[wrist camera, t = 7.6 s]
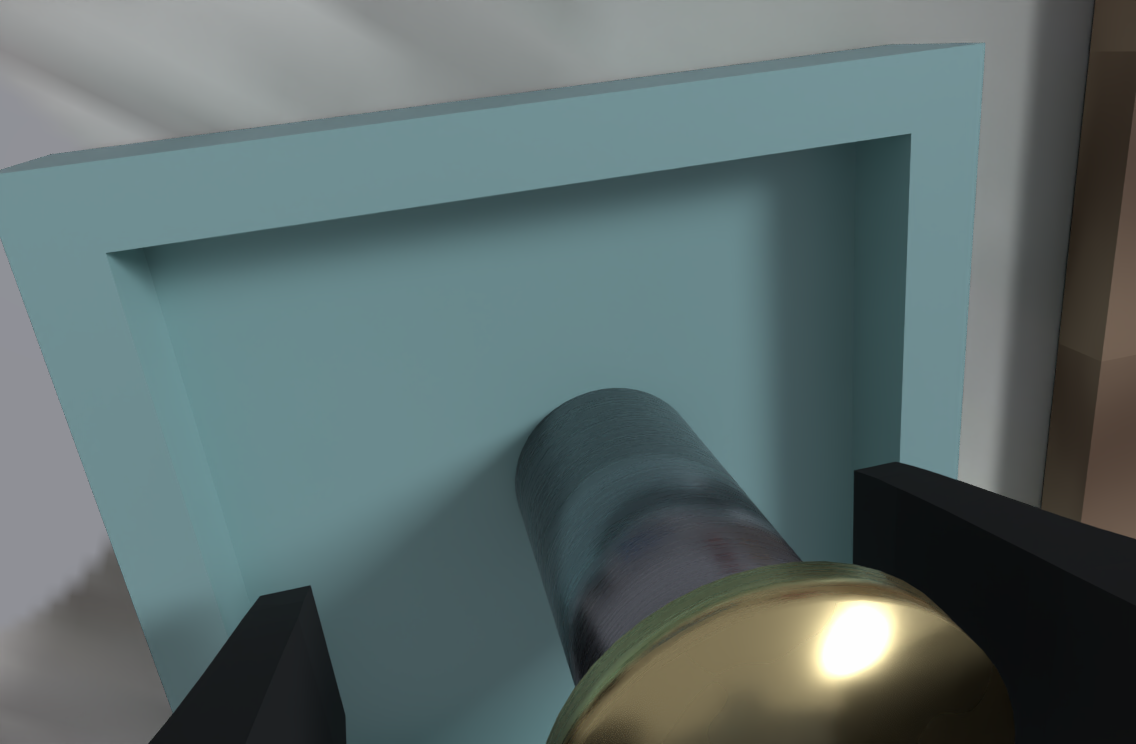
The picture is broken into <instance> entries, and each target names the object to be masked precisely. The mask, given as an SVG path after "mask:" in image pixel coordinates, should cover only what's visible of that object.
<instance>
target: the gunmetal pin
mask: <svg viewBox="0 0 1136 744" xmlns="http://www.w3.org/2000/svg"><path fill="white" fill-rule="evenodd" d="M515 491H516V497H517V502H518V506H519V509H520V512H521V515H522V518H523V522H524V525H525V528H526V531H527V534H528V538H529V541H530V544H531V547H532V551H533V554H534V557H535V560H536V563H537V567H538V570H539V573H540V576H541V579H542V583H543V586H544V589H545V592H546V595H547V599H548V602H549V605H550V608H551V612H552V615H553V618H554V621H555V624H556V628H557V631H558V634H559V637H560V640H561V644H562V647H563V650H564V653H565V657H566V660H567V663H568V666H569V669H570V673H571V676H572V679H573V682H574V685H575V688H574V689H573V691H572V693H571V694H570V696H569V698H568V699H567V701H566V703H565V704H564V706H563V707H562V709H561V711H560V712H559V714H558V716H557V718H556V721H555V723H554V725H553V727H552V730H551V732H550V734H549V736H548V739H547V741H546V744H1015V726H1014V716H1013V709H1012V706H1011V702H1010V698H1009V695H1008V691H1007V688H1006V686H1005V684H1004V682H1003V680H1002V678H1001V676H1000V674H999V672H998V670H997V668H996V667H995V666H994V664H993V663H992V662H991V660H990V659H989V658H988V656H987V655H986V654H985V653H984V651H983V650H982V649H981V648H980V647H979V646H978V645H977V644H976V643H975V642H974V641H973V640H972V639H971V638H970V637H969V636H968V635H967V634H966V633H965V632H964V631H963V630H962V629H961V628H960V627H959V626H958V625H957V624H956V623H955V622H954V621H953V620H952V619H951V618H950V617H949V616H948V615H947V614H946V613H945V612H943V611H942V610H941V609H940V608H939V607H938V606H937V605H936V604H935V603H934V602H933V601H932V600H930V599H929V598H928V597H927V596H926V595H925V594H924V593H922V592H921V591H919V590H917V589H916V588H914V587H913V586H911V585H910V584H908V583H906V582H905V581H903V580H901V579H898V578H896V577H894V576H891V575H889V574H886V573H884V572H882V571H879V570H875V569H871V568H867V567H863V566H859V565H855V564H848V563H838V562H829V561H806V562H803V561H802V560H801V559H800V558H799V556H798V555H797V554H796V553H795V552H794V550H793V549H792V548H791V547H790V546H789V544H788V543H787V542H786V541H785V540H784V538H783V537H782V536H781V535H780V534H779V532H778V531H777V530H776V529H775V528H774V527H773V525H772V524H771V523H770V522H769V521H768V519H767V518H766V517H765V516H764V515H763V513H762V512H761V511H760V510H759V509H758V507H757V506H756V505H755V504H754V503H753V501H752V500H751V499H750V498H749V497H748V495H747V494H746V493H745V492H744V491H743V489H742V488H741V487H740V486H739V485H738V483H737V482H736V481H735V480H734V479H733V478H732V476H731V475H730V474H729V473H728V472H727V470H726V469H725V468H724V467H723V466H722V464H721V463H720V462H719V461H718V460H717V458H716V457H715V456H714V455H713V454H712V452H711V451H710V450H709V449H708V448H707V446H706V445H705V444H704V443H703V442H702V440H701V439H700V438H699V437H698V436H697V434H696V433H695V432H694V431H693V430H692V428H691V427H690V426H689V425H688V424H687V423H686V421H685V420H684V419H683V418H682V417H681V415H680V414H679V413H678V412H677V411H676V410H675V409H674V408H673V407H672V406H670V405H669V404H668V403H666V402H665V401H663V400H662V399H660V398H658V397H656V396H654V395H651V394H649V393H646V392H643V391H639V390H634V389H628V388H608V389H600V390H595V391H591V392H587V393H585V394H582V395H579V396H576V397H574V398H572V399H570V400H568V401H566V402H565V403H563V404H562V405H560V406H559V407H557V408H556V409H554V410H553V411H552V412H551V413H549V414H548V415H547V416H546V417H545V418H544V419H543V420H542V421H541V422H540V423H539V424H538V425H537V426H536V428H535V429H534V430H533V432H532V433H531V435H530V436H529V437H528V439H527V441H526V443H525V445H524V447H523V449H522V451H521V454H520V457H519V460H518V464H517V468H516V476H515Z"/></svg>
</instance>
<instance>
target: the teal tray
mask: <svg viewBox="0 0 1136 744" xmlns="http://www.w3.org/2000/svg"><path fill="white" fill-rule="evenodd" d="M984 56H985V43H946V44H891V45H883V46H875V47H868V48H860V49H853V50H845V51H837V52H830V53H822V54H814V55H807V56H799V57H791V58H784V59H776V60H768V61H761V62H753V63H746V64H738V65H730V66H723V67H715V68H707V69H700V70H692V71H684V72H677V73H669V74H661V75H654V76H646V77H639V78H631V79H623V80H616V81H608V82H600V83H593V84H585V85H577V86H570V87H562V88H554V89H547V90H539V91H532V92H524V93H516V94H509V95H501V96H493V97H486V98H478V99H470V100H463V101H455V102H447V103H440V104H432V105H425V106H417V107H409V108H402V109H394V110H386V111H379V112H371V113H363V114H356V115H348V116H340V117H333V118H325V119H317V120H310V121H302V122H295V123H287V124H279V125H272V126H264V127H256V128H249V129H241V130H233V131H226V132H218V133H210V134H203V135H195V136H188V137H180V138H172V139H165V140H157V141H149V142H142V143H134V144H126V145H119V146H111V147H103V148H96V149H88V150H81V151H73V152H65V153H58V154H50V155H47V156H44V157H40V158H37V159H34V160H31V161H28V162H24V163H21V164H18V165H14V166H11V167H8V168H5V169H1V170H0V238H1V241H2V244H3V246H4V249H5V252H6V255H7V257H8V260H9V263H10V266H11V269H12V271H13V274H14V277H15V279H16V282H17V285H18V288H19V291H20V293H21V296H22V299H23V302H24V304H25V307H26V310H27V313H28V315H29V318H30V321H31V323H32V327H33V329H34V332H35V335H36V337H37V340H38V343H39V346H40V348H41V351H42V354H43V357H44V360H45V362H46V365H47V368H48V370H49V373H50V376H51V379H52V381H53V384H54V387H55V390H56V393H57V395H58V398H59V401H60V404H61V406H62V409H63V412H64V415H65V417H66V420H67V423H68V426H69V428H70V431H71V434H72V437H73V439H74V442H75V445H76V448H77V450H78V453H79V456H80V459H81V461H82V464H83V467H84V469H85V473H86V475H87V478H88V481H89V483H90V486H91V489H92V492H93V494H94V497H95V500H96V503H97V505H98V508H99V511H100V514H101V517H102V519H103V522H104V525H105V528H106V530H107V533H108V536H109V539H110V541H111V544H112V547H113V550H114V552H115V555H116V558H117V561H118V563H119V566H120V569H121V572H122V574H123V577H124V580H125V583H126V585H127V588H128V591H129V594H130V597H131V599H132V602H133V605H134V608H135V610H136V613H137V616H138V619H139V621H140V624H141V627H142V630H143V632H144V635H145V638H146V641H147V643H148V646H149V649H150V652H151V654H152V657H153V660H154V663H155V665H156V668H157V671H158V674H159V676H160V679H161V682H162V685H163V687H164V690H165V693H166V696H167V698H168V701H169V704H170V707H171V709H172V712H173V713H174V711H175V710H176V709H177V707H178V706H179V705H180V703H181V702H182V701H183V700H184V698H185V697H186V696H187V694H188V693H189V692H190V690H191V689H192V688H193V686H194V685H195V684H196V682H197V681H198V680H199V678H200V677H201V676H202V674H203V673H204V672H205V670H206V669H207V668H208V666H209V665H210V663H211V662H212V661H213V659H214V658H215V656H216V655H217V654H218V652H219V651H220V650H221V648H222V647H223V645H224V644H225V643H226V641H227V640H228V638H229V637H230V636H231V634H232V633H233V631H234V630H235V629H236V627H237V626H238V624H239V623H240V622H241V620H242V619H243V618H244V616H245V615H246V614H247V612H248V611H249V610H250V608H251V607H252V606H253V604H254V603H255V602H256V600H257V599H258V598H259V596H262V595H266V594H271V593H276V592H281V591H285V590H290V589H295V588H300V587H304V586H309V585H311V588H312V592H313V596H314V599H315V603H316V607H317V611H318V614H319V618H320V622H321V626H322V629H323V633H324V637H325V641H326V644H327V648H328V652H329V656H330V659H331V663H332V667H333V671H334V674H335V678H336V682H337V685H338V689H339V693H340V697H341V700H342V704H343V708H344V712H345V715H346V744H546V741H547V739H548V736H549V734H550V732H551V730H552V727H553V725H554V723H555V721H556V718H557V716H558V714H559V712H560V711H561V709H562V707H563V706H564V704H565V703H566V701H567V699H568V698H569V696H570V694H571V693H572V691H573V689H574V688H575V685H574V682H573V679H572V676H571V673H570V669H569V666H568V663H567V660H566V657H565V653H564V650H563V647H562V644H561V640H560V637H559V634H558V631H557V628H556V624H555V621H554V618H553V615H552V612H551V608H550V605H549V602H548V599H547V595H546V592H545V589H544V586H543V583H542V579H541V576H540V573H539V570H538V567H537V563H536V560H535V557H534V554H533V551H532V547H531V544H530V541H529V538H528V534H527V531H526V528H525V525H524V522H523V518H522V515H521V512H520V509H519V506H518V502H517V497H516V491H515V476H516V468H517V464H518V460H519V457H520V454H521V451H522V449H523V447H524V445H525V443H526V441H527V439H528V437H529V436H530V435H531V433H532V432H533V430H534V429H535V428H536V426H537V425H538V424H539V423H540V422H541V421H542V420H543V419H544V418H545V417H546V416H547V415H548V414H549V413H551V412H552V411H553V410H554V409H556V408H557V407H559V406H560V405H562V404H563V403H565V402H566V401H568V400H570V399H572V398H574V397H576V396H579V395H582V394H585V393H587V392H591V391H595V390H600V389H608V388H628V389H634V390H639V391H643V392H646V393H649V394H651V395H654V396H656V397H658V398H660V399H662V400H663V401H665V402H666V403H668V404H669V405H670V406H672V407H673V408H674V409H675V410H676V411H677V412H678V413H679V414H680V415H681V417H682V418H683V419H684V420H685V421H686V423H687V424H688V425H689V426H690V427H691V428H692V430H693V431H694V432H695V433H696V434H697V436H698V437H699V438H700V439H701V440H702V442H703V443H704V444H705V445H706V446H707V448H708V449H709V450H710V451H711V452H712V454H713V455H714V456H715V457H716V458H717V460H718V461H719V462H720V463H721V464H722V466H723V467H724V468H725V469H726V470H727V472H728V473H729V474H730V475H731V476H732V478H733V479H734V480H735V481H736V482H737V483H738V485H739V486H740V487H741V488H742V489H743V491H744V492H745V493H746V494H747V495H748V497H749V498H750V499H751V500H752V501H753V503H754V504H755V505H756V506H757V507H758V509H759V510H760V511H761V512H762V513H763V515H764V516H765V517H766V518H767V519H768V521H769V522H770V523H771V524H772V525H773V527H774V528H775V529H776V530H777V531H778V532H779V534H780V535H781V536H782V537H783V538H784V540H785V541H786V542H787V543H788V544H789V546H790V547H791V548H792V549H793V550H794V552H795V553H796V554H797V555H798V556H799V558H800V559H801V560H802V561H803V562H806V561H829V562H838V563H848V564H853V501H854V470H858V469H862V468H867V467H872V466H877V465H881V464H886V463H891V462H900V463H904V464H908V465H912V466H915V467H919V468H922V469H925V470H929V471H932V472H935V473H938V474H941V475H944V476H947V477H950V478H953V479H956V480H957V476H958V460H959V445H960V429H961V413H962V398H963V382H964V367H965V351H966V336H967V320H968V305H969V289H970V274H971V258H972V242H973V227H974V211H975V196H976V180H977V165H978V149H979V134H980V118H981V102H982V87H983V71H984Z"/></svg>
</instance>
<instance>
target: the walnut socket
mask: <svg viewBox="0 0 1136 744" xmlns="http://www.w3.org/2000/svg"><path fill="white" fill-rule="evenodd" d="M1041 509H1042V510H1045V511H1048V512H1051V513H1054V514H1057V515H1060V516H1063V517H1066V518H1069V519H1072V520H1075V521H1078V522H1082V523H1085V524H1088V525H1091V526H1094V527H1097V528H1100V529H1104V530H1107V531H1111V532H1114V533H1117V534H1121V535H1124V536H1127V537H1131V538H1134V539H1136V0H1095V9H1094V19H1093V28H1092V37H1091V47H1090V56H1089V65H1088V75H1087V84H1086V93H1085V103H1084V112H1083V121H1082V131H1081V140H1080V149H1079V159H1078V168H1077V177H1076V187H1075V196H1074V206H1073V215H1072V224H1071V234H1070V243H1069V252H1068V262H1067V271H1066V280H1065V290H1064V299H1063V308H1062V318H1061V327H1060V336H1059V346H1058V355H1057V364H1056V374H1055V383H1054V392H1053V402H1052V411H1051V420H1050V430H1049V439H1048V448H1047V458H1046V467H1045V476H1044V486H1043V495H1042V504H1041Z"/></svg>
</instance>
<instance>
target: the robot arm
mask: <svg viewBox="0 0 1136 744" xmlns="http://www.w3.org/2000/svg"><path fill="white" fill-rule="evenodd" d="M853 564H855V565H859V566H863V567H867V568H871V569H875V570H879V571H882V572H884V573H886V574H889V575H891V576H894V577H896V578H898V579H901V580H903V581H905V582H906V583H908V584H910V585H911V586H913V587H914V588H916V589H917V590H919V591H921V592H922V593H924V594H925V595H926V596H927V597H928V598H929V599H930V600H932V601H933V602H934V603H935V604H936V605H937V606H938V607H939V608H940V609H941V610H942V611H943V612H945V613H946V614H947V615H948V616H949V617H950V618H951V619H952V620H953V621H954V622H955V623H956V624H957V625H958V626H959V627H960V628H961V629H962V630H963V631H964V632H965V633H966V634H967V635H968V636H969V637H970V638H971V639H972V640H973V641H974V642H975V643H976V644H977V645H978V646H979V647H980V648H981V649H982V650H983V651H984V653H985V654H986V655H987V656H988V658H989V659H990V660H991V662H992V663H993V664H994V666H995V667H996V668H997V670H998V672H999V674H1000V676H1001V678H1002V680H1003V682H1004V684H1005V686H1006V688H1007V691H1008V695H1009V698H1010V702H1011V706H1012V709H1013V716H1014V726H1015V744H1136V539H1134V538H1131V537H1127V536H1124V535H1121V534H1117V533H1114V532H1111V531H1107V530H1104V529H1100V528H1097V527H1094V526H1091V525H1088V524H1085V523H1082V522H1078V521H1075V520H1072V519H1069V518H1066V517H1063V516H1060V515H1057V514H1054V513H1051V512H1048V511H1045V510H1042V509H1039V508H1036V507H1033V506H1031V505H1028V504H1025V503H1022V502H1019V501H1016V500H1013V499H1010V498H1007V497H1005V496H1002V495H999V494H996V493H993V492H990V491H987V490H985V489H982V488H979V487H976V486H973V485H970V484H967V483H965V482H962V481H959V480H956V479H953V478H950V477H947V476H944V475H941V474H938V473H935V472H932V471H929V470H925V469H922V468H919V467H915V466H912V465H908V464H904V463H900V462H891V463H886V464H881V465H877V466H872V467H867V468H862V469H858V470H854V501H853ZM149 744H346V715H345V712H344V708H343V704H342V700H341V697H340V693H339V689H338V685H337V682H336V678H335V674H334V671H333V667H332V663H331V659H330V656H329V652H328V648H327V644H326V641H325V637H324V633H323V629H322V626H321V622H320V618H319V614H318V611H317V607H316V603H315V599H314V596H313V592H312V588H311V585H309V586H304V587H300V588H295V589H290V590H285V591H281V592H276V593H271V594H266V595H262V596H259V598H258V599H257V600H256V602H255V603H254V604H253V606H252V607H251V608H250V610H249V611H248V612H247V614H246V615H245V616H244V618H243V619H242V620H241V622H240V623H239V624H238V626H237V627H236V629H235V630H234V631H233V633H232V634H231V636H230V637H229V638H228V640H227V641H226V643H225V644H224V645H223V647H222V648H221V650H220V651H219V652H218V654H217V655H216V656H215V658H214V659H213V661H212V662H211V663H210V665H209V666H208V668H207V669H206V670H205V672H204V673H203V674H202V676H201V677H200V678H199V680H198V681H197V682H196V684H195V685H194V686H193V688H192V689H191V690H190V692H189V693H188V694H187V696H186V697H185V698H184V700H183V701H182V702H181V703H180V705H179V706H178V707H177V709H176V710H175V711H174V713H173V714H172V715H171V717H170V718H169V719H168V721H167V722H166V723H165V724H164V725H163V727H162V728H161V729H160V730H159V731H158V733H157V734H156V735H155V736H154V737H153V739H152V740H151V741H150V742H149Z"/></svg>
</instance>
